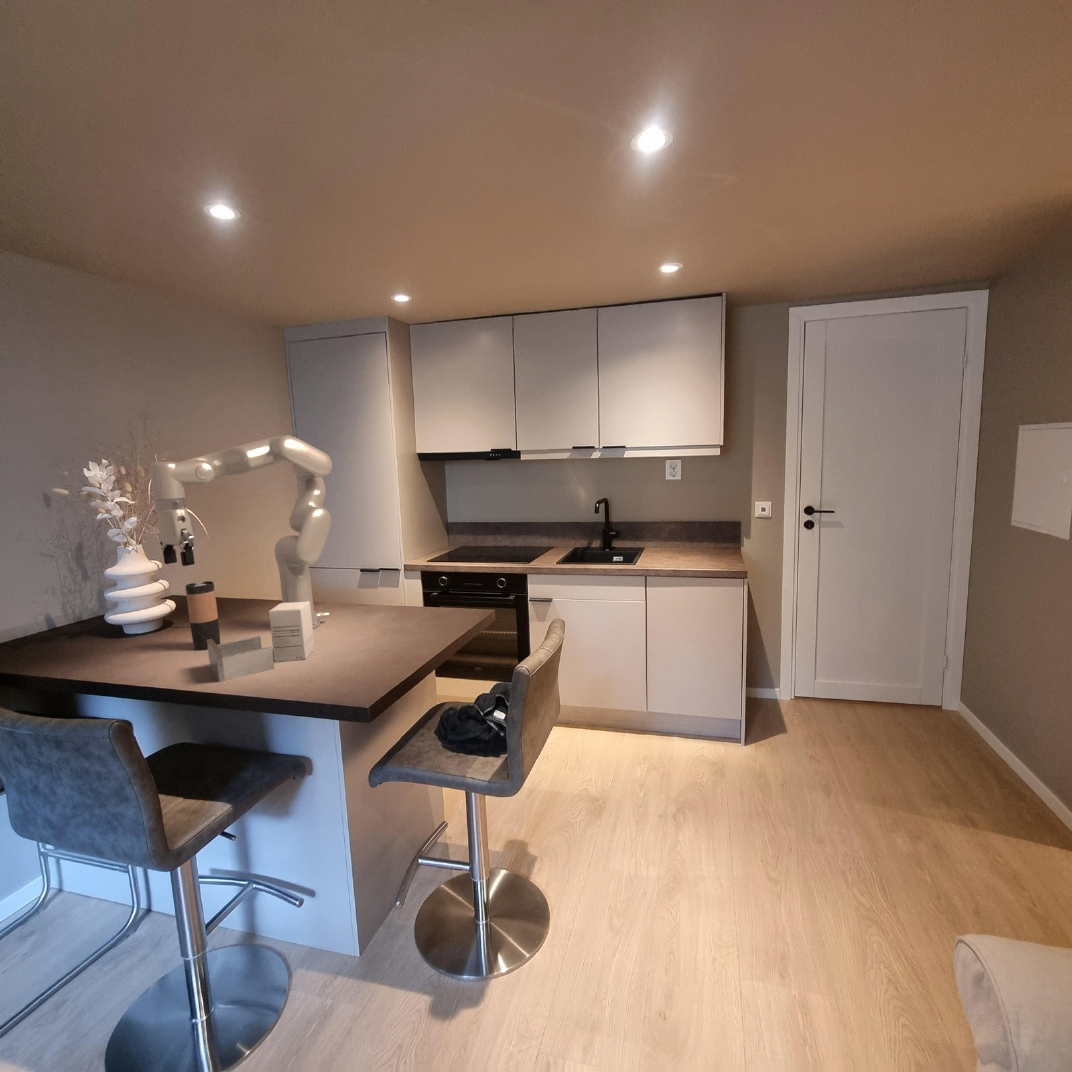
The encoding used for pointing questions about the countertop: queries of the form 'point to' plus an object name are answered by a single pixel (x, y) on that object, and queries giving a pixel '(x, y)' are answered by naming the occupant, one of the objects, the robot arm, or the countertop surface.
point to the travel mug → (203, 614)
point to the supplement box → (292, 631)
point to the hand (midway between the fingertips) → (179, 564)
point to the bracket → (239, 658)
